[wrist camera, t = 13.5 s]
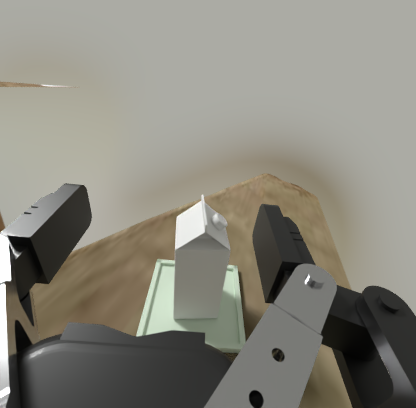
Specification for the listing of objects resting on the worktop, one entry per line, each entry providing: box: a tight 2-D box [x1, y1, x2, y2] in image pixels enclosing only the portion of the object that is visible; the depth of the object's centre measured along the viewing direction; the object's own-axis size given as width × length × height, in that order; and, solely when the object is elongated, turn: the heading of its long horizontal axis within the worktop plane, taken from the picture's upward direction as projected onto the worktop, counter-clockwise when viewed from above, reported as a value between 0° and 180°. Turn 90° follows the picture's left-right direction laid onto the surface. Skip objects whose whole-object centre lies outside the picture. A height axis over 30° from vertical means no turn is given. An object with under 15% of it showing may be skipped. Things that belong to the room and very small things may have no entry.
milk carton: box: [173, 195, 230, 319], centre depth 35 cm, size 7×7×19 cm
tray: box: [136, 259, 246, 353], centre depth 41 cm, size 16×16×1 cm
